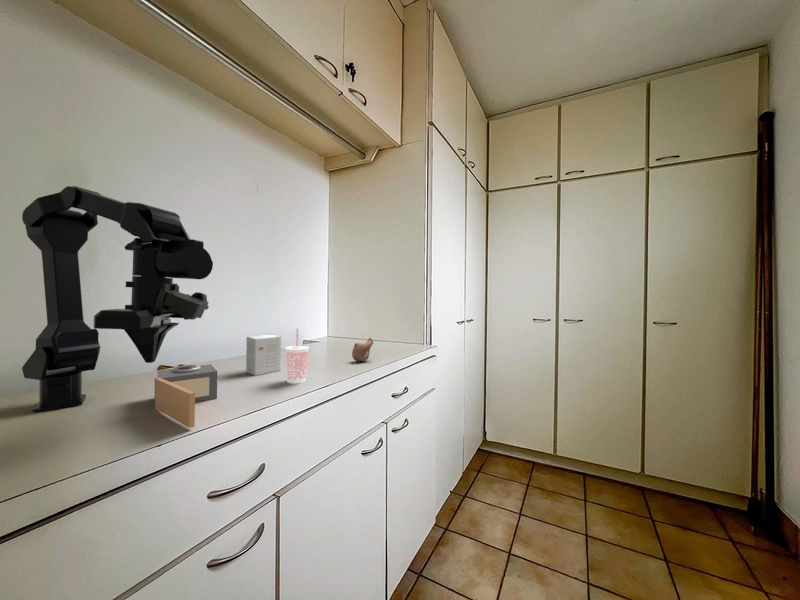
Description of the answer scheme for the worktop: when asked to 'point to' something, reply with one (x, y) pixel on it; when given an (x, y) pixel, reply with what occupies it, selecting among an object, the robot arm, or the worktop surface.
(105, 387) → the worktop surface
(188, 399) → the side door
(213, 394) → the camera housing
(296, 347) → the beverage cup
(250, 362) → the small box
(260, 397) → the worktop surface
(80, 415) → the worktop surface
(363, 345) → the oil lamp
